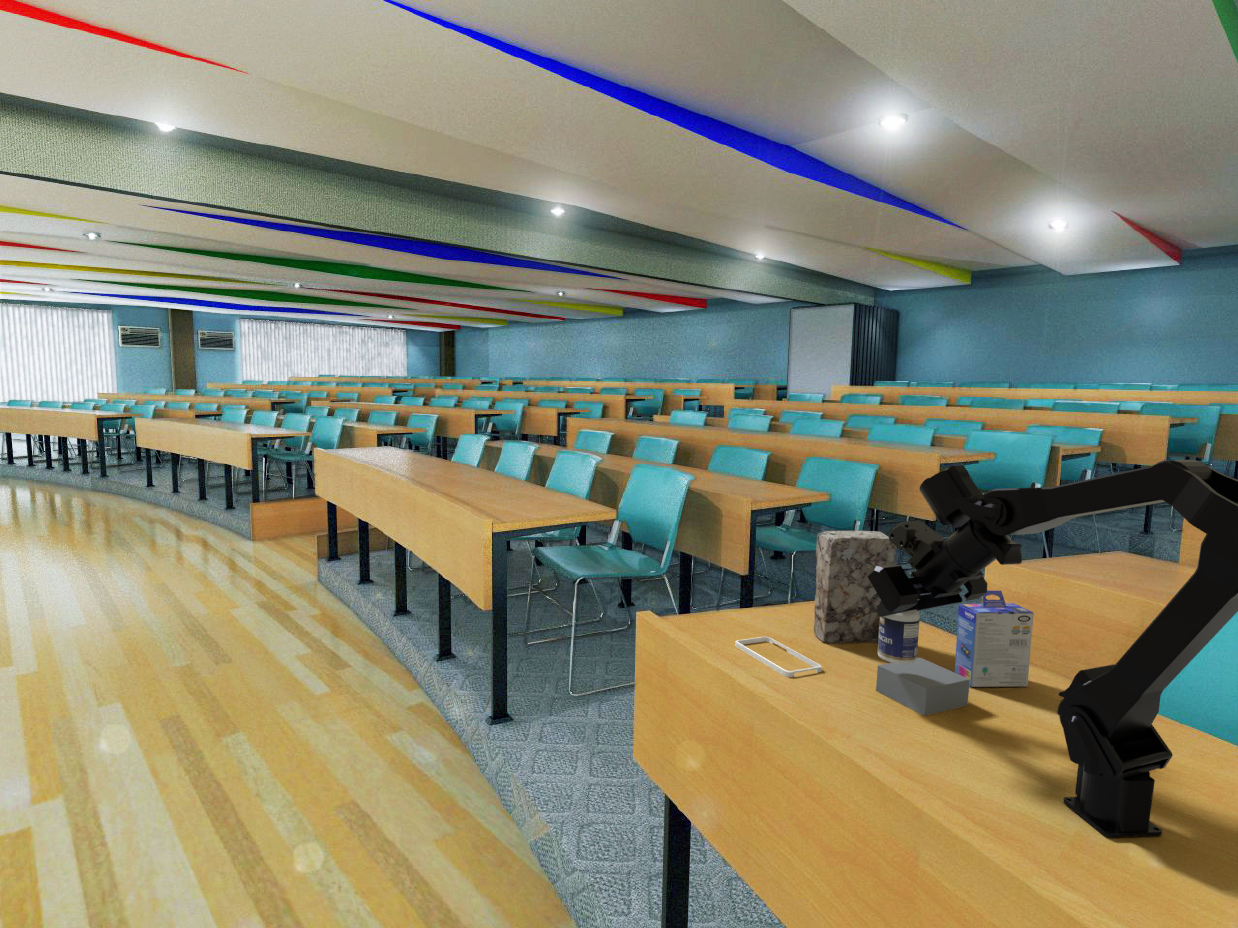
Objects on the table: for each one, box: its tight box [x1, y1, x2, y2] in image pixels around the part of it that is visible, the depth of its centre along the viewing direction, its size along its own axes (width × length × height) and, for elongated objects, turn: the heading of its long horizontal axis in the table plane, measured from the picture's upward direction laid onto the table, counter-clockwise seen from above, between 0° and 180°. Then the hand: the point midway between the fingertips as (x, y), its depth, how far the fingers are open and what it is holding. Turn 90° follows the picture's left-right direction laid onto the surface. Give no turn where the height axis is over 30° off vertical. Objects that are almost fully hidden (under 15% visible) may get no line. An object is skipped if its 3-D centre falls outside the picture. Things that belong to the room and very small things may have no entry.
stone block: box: [813, 530, 898, 645], centre depth 128 cm, size 13×7×20 cm, turn 103°
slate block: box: [875, 657, 970, 717], centre depth 105 cm, size 9×9×4 cm
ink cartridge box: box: [954, 589, 1035, 688], centre depth 111 cm, size 10×6×14 cm, turn 96°
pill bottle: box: [877, 610, 921, 664], centre depth 102 cm, size 5×5×10 cm
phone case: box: [734, 636, 823, 678], centre depth 119 cm, size 7×1×15 cm
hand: (892, 611), depth 103 cm, fingers closed on pill bottle, 5 cm apart
